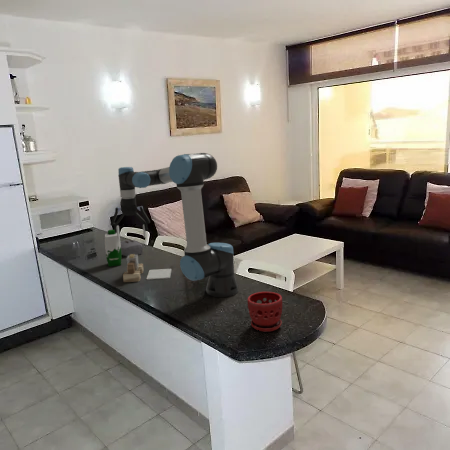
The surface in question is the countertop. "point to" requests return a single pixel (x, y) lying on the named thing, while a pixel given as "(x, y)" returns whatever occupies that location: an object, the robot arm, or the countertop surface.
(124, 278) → the plane body
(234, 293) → the robot arm
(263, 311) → the plant pot
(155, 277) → the mat
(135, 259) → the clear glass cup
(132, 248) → the small grey backpack
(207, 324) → the countertop surface
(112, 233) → the milk carton
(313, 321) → the countertop surface
